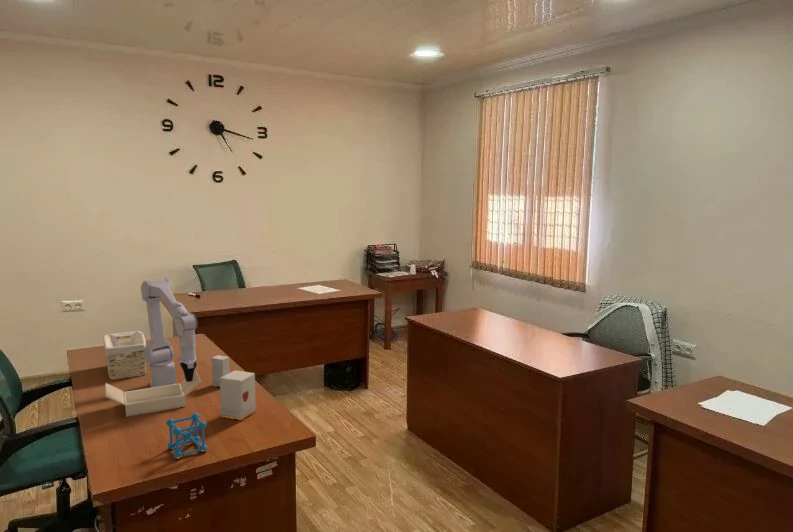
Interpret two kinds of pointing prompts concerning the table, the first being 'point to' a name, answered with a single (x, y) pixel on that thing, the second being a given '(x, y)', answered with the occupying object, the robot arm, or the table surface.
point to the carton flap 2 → (191, 383)
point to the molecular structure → (186, 434)
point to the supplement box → (237, 394)
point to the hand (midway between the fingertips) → (189, 380)
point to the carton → (154, 399)
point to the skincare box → (219, 368)
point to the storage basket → (125, 355)
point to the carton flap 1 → (114, 394)
